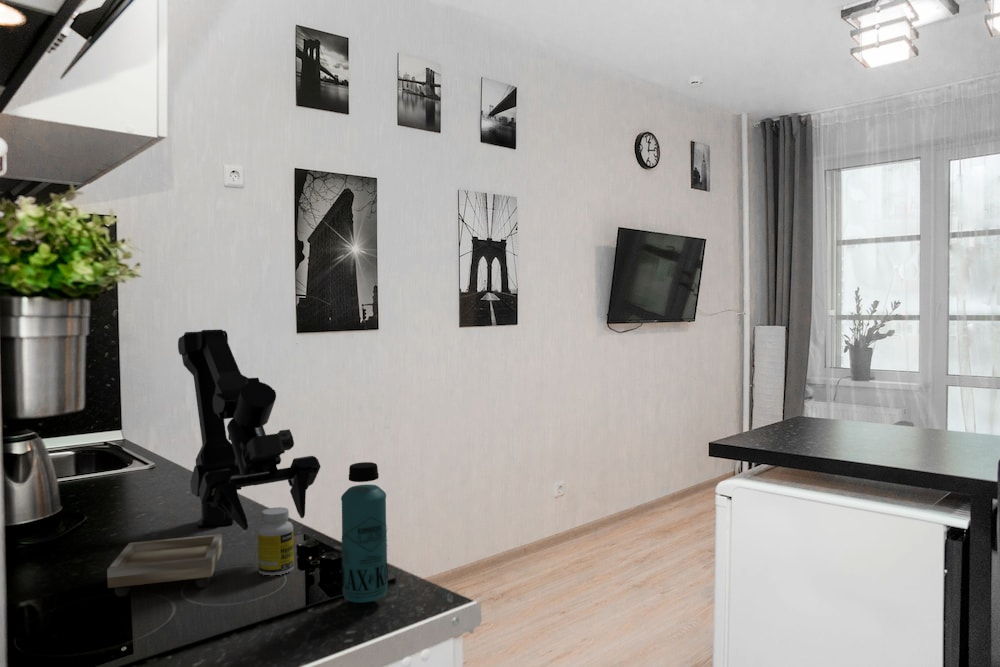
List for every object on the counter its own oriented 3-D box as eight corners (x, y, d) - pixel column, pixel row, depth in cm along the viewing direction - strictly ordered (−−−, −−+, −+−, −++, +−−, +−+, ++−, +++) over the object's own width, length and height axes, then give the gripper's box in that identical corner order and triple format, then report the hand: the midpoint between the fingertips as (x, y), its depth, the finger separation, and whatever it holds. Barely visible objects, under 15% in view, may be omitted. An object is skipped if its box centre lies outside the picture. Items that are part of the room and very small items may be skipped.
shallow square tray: (130, 571, 111) (129, 542, 110) (222, 561, 114) (221, 534, 114) (108, 601, 99) (107, 569, 99) (212, 589, 103) (210, 558, 102)
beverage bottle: (333, 604, 97) (329, 464, 96) (372, 590, 101) (369, 456, 101) (358, 618, 92) (355, 471, 91) (399, 603, 97) (395, 463, 96)
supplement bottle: (284, 578, 107) (282, 516, 106) (252, 576, 108) (250, 515, 107) (300, 565, 112) (298, 506, 112) (269, 564, 113) (267, 505, 113)
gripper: (201, 421, 107) (224, 505, 99) (314, 409, 119) (343, 483, 111) (190, 463, 114) (211, 545, 106) (298, 448, 125) (325, 521, 117)
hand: (275, 522), depth 109 cm, fingers open, 9 cm apart
